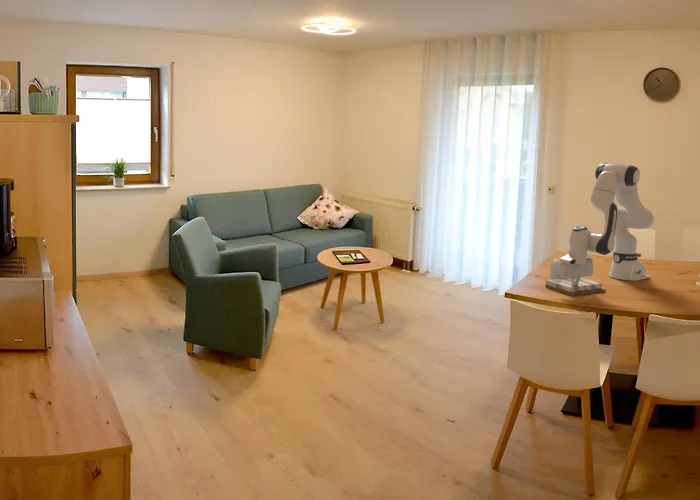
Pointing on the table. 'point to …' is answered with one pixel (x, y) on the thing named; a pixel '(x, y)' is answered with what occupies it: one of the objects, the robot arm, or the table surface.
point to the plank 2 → (591, 284)
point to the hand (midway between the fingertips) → (574, 285)
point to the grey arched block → (555, 269)
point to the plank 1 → (571, 287)
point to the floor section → (553, 285)
